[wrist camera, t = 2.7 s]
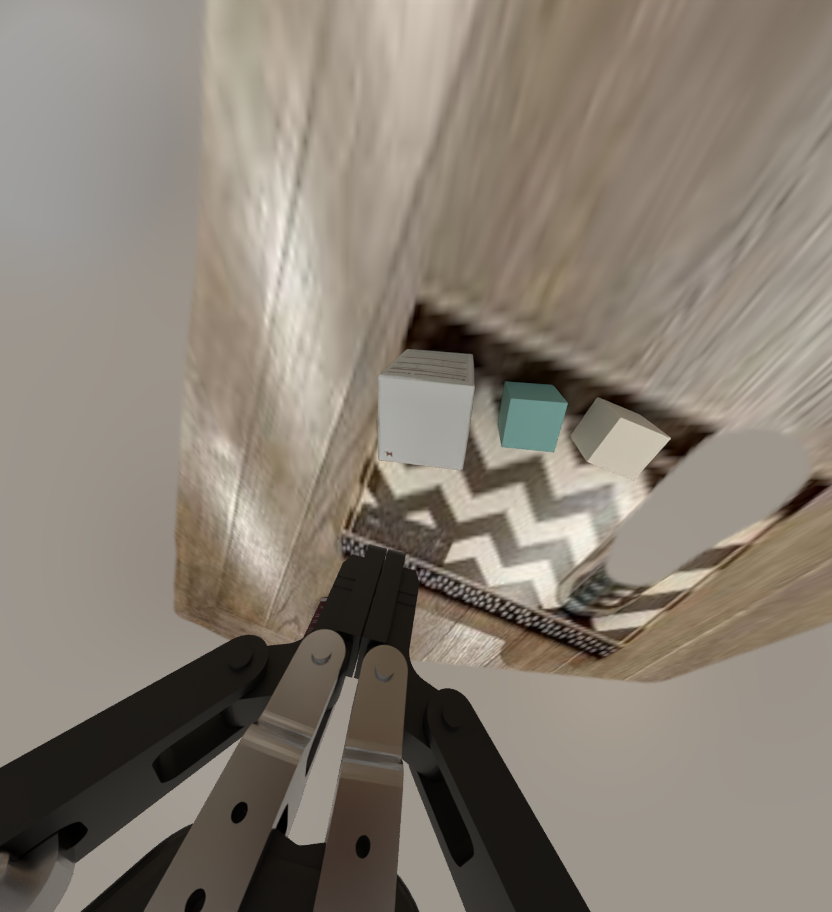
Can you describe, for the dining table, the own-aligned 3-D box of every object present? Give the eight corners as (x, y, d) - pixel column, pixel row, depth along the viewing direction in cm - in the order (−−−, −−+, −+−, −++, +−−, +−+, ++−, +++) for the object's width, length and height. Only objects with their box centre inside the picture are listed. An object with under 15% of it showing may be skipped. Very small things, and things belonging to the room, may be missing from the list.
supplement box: (465, 417, 37) (462, 474, 26) (402, 410, 37) (374, 462, 26) (475, 352, 33) (477, 385, 22) (406, 345, 34) (374, 374, 23)
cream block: (597, 396, 33) (620, 417, 28) (639, 414, 34) (670, 438, 28) (570, 436, 36) (586, 461, 31) (609, 452, 36) (633, 480, 31)
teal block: (504, 381, 34) (510, 398, 29) (552, 384, 33) (567, 403, 28) (497, 424, 36) (501, 447, 31) (542, 428, 36) (554, 452, 31)
